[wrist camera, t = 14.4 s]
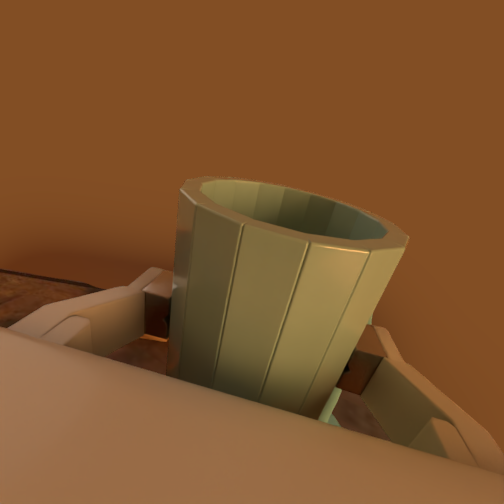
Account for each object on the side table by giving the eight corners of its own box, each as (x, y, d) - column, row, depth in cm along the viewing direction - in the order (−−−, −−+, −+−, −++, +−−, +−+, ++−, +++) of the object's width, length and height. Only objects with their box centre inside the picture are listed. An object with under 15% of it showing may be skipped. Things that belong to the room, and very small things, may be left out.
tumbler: (129, 470, 9) (121, 190, 4) (201, 349, 14) (227, 171, 10) (290, 545, 8) (466, 285, 4) (301, 386, 13) (377, 207, 9)
